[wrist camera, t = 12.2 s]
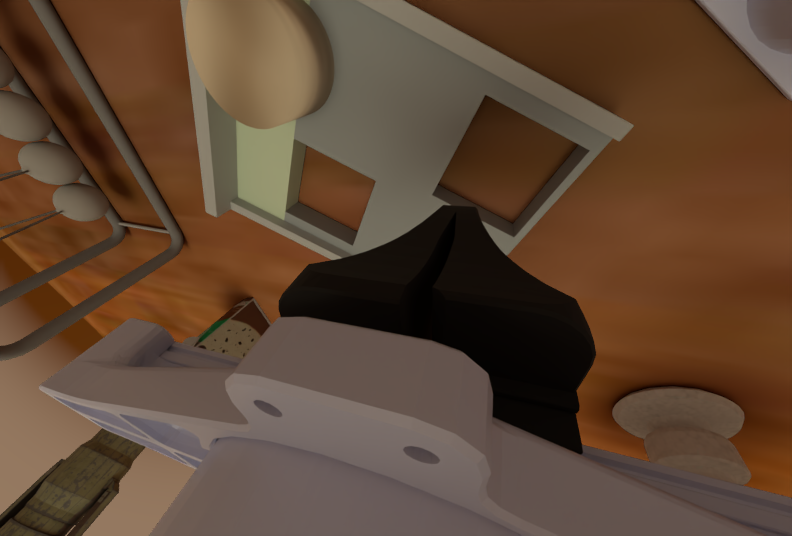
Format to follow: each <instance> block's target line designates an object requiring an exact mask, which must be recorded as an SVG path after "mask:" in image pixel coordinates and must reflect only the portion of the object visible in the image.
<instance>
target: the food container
mask: <svg viewBox="0 0 792 536" xmlns="http://www.w3.org/2000/svg"><path fill="white" fill-rule="evenodd" d="M271 325H272V324H271V322H270V321H269V319H268V318H267V316H266V315H265V313H264V312H263V311H262V309H261V308H260V306H259V305H258V303H257V302H256V300H255V299H254V298H246V299H244V300H242V301H241V302H240V303H238V304H237V305H236V306H235V307H233V308H232V309H231V310H230V311H229V312H227V313H226V314H225V315H224V316H222V317H221V318H220V319H219V320H218V321H216V322H215V323H214V324H213V325H211V326H210V327H209V328H208V329H207V330H205V331H204V332H203V333H202V334H200V335H199V336H198V337H189V338H187V339H185V340H184V342H183V344H186V345H190V346H194V347H198V348H202V349H206V350H210V351H214V352H218V353H222V354H226V355H230V356H234V357H238V358H242V359H243V358H244V357H245V356H246V355H247V353H248V352H249V351H250V350H251V348H252V347H253V346H254V345H255V344H256V342H257V341H258V340H259V339H260V337H261V336H262V335H263V334H264V333H265V331H266V330H267V329H268V328H269V327H270V326H271Z"/></svg>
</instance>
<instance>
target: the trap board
mask: <svg viewBox="0 0 792 536" xmlns="http://www.w3.org/2000/svg"><path fill="white" fill-rule="evenodd" d="M180 1H181V9H182V17H183V26H184V34H185V42H186V50H187V59H188V67H189V75H190V84H191V92H192V100H193V109H194V117H195V125H196V133H197V142H198V150H199V158H200V167H201V175H202V183H203V192H204V200H205V208H206V212H207V213H209V214H211V215H213V216H215V217H219V216H220V215H222V214H224V213H225V212H227V211H229V210H230V209H232V210H234V211H236V212H238V213H240V214H242V215H244V216H246V217H248V218H250V219H252V220H254V221H256V222H258V223H260V224H262V225H264V226H266V227H268V228H270V229H272V230H274V231H276V232H278V233H280V234H282V235H283V236H285V237H287V238H289V239H291V240H293V241H295V242H297V243H299V244H301V245H303V246H305V247H307V248H309V249H311V250H313V251H315V252H317V253H319V254H321V255H323V256H325V257H327V258H329V259H331V260H336V259H341V258H345V257H349V256H352V255H356V254H359V253H362V252H365V251H368V250H371V249H373V248H376V247H378V246H381V245H384V244H386V243H388V242H390V241H392V240H394V239H396V238H398V237H400V236H402V235H403V234H405V233H407V232H408V231H410V230H411V229H413V228H414V227H416V226H417V225H419V224H420V223H422V222H423V221H424V220H425V219H427V218H428V217H429V216H430V215H432V214H433V213H434V212H435V211H437V210H438V209H439V208H440V207H441V206H443V205H452V206H470V207H476V208H477V209H478V213H479V216H480V218H481V221H482V223H483V225H484V226H485V228H486V230H487V232H488V233H489V235H490V236H491V238H492V239H493V241H494V242H495V243H496V245H497V246H498V247H499V248H500V250H501V251H502V252H503V253H504V254H505V255H506V256H507V255H508V254H509V253H510V252H511V251H512V249H513V248H514V247H515V246H516V245H517V244H518V243H519V242H520V241H521V240H522V238H523V237H524V236H525V235H526V234H527V233H528V232H529V231H530V230H531V228H532V227H533V226H534V225H535V224H536V223H537V222H538V221H539V220H540V218H541V217H542V216H543V215H544V214H545V213H546V212H547V211H548V210H549V208H550V207H551V206H552V205H553V204H554V203H555V202H556V201H557V200H558V199H559V197H560V196H561V195H562V194H563V193H564V192H565V191H566V190H567V189H568V187H569V186H570V185H571V184H572V183H573V182H574V181H575V180H576V179H577V177H578V176H579V175H580V174H581V173H582V172H583V171H584V170H585V169H586V167H587V166H588V165H589V164H590V163H591V162H592V161H593V160H594V159H595V157H596V156H597V155H598V154H599V153H600V152H601V151H602V150H603V149H604V148H605V146H606V145H607V144H608V143H609V142H610V141H611V140H612V139H613V138H614V139H616V140H617V141H619V142H620V140H621V139H622V138H623V137H624V136H625V135H626V134H627V133H628V132H629V131H630V130H631V129H632V128H633V126H634V125H632V124H631V123H629V122H627V121H626V120H624V119H622V118H621V117H619V116H617V115H615V114H614V113H612V112H610V111H608V110H606V109H604V108H603V107H601V106H599V105H597V104H595V103H593V102H591V101H590V100H588V99H586V98H584V97H582V96H580V95H578V94H577V93H575V92H573V91H571V90H569V89H567V88H566V87H564V86H562V85H560V84H558V83H556V82H554V81H553V80H551V79H549V78H547V77H545V76H543V75H541V74H540V73H538V72H536V71H534V70H532V69H530V68H529V67H527V66H525V65H523V64H521V63H519V62H517V61H516V60H514V59H512V58H510V57H508V56H506V55H505V54H503V53H501V52H499V51H497V50H495V49H493V48H492V47H490V46H488V45H486V44H484V43H482V42H480V41H479V40H477V39H475V38H473V37H471V36H469V35H468V34H466V33H464V32H462V31H460V30H458V29H456V28H455V27H453V26H451V25H449V24H447V23H445V22H443V21H442V20H440V19H438V18H436V17H434V16H432V15H431V14H429V13H427V12H425V11H423V10H421V9H419V8H418V7H416V6H414V5H412V4H410V3H408V2H407V1H405V0H304V1H305V2H306V3H307V4H308V5H309V6H310V7H311V8H312V10H313V11H314V12H315V13H316V15H317V16H318V18H319V19H320V21H321V22H322V24H323V26H324V28H325V30H326V33H327V35H328V37H329V41H330V44H331V47H332V52H333V58H334V81H333V86H332V90H331V93H330V95H329V97H328V99H327V101H326V102H325V104H324V105H323V106H322V107H321V108H320V109H319V110H318V111H316V112H314V113H312V114H310V115H307V116H304V117H301V118H299V119H296V120H293V121H291V122H288V123H285V124H282V125H280V126H277V127H274V128H271V129H256V128H252V127H249V126H246V125H244V124H242V123H240V122H239V121H237V120H236V119H234V118H233V117H231V116H230V115H229V114H228V113H227V112H225V111H224V110H223V109H222V108H221V107H220V106H219V104H218V103H217V102H216V101H215V100H214V98H213V97H212V96H211V94H210V93H209V92H208V90H207V89H206V87H205V85H204V84H203V82H202V80H201V78H200V76H199V74H198V72H197V70H196V68H195V65H194V62H193V60H192V57H191V54H190V50H189V46H188V41H187V35H186V9H187V5H188V1H189V0H180ZM485 95H487V96H489V97H491V98H492V99H494V100H496V101H498V102H500V103H502V104H504V105H505V106H507V107H509V108H511V109H513V110H515V111H517V112H519V113H520V114H522V115H524V116H526V117H528V118H530V119H532V120H534V121H535V122H537V123H539V124H541V125H543V126H545V127H547V128H549V129H550V130H552V131H554V132H556V133H558V134H560V135H562V136H564V137H565V138H567V139H569V140H571V141H573V142H575V143H577V144H578V146H577V147H576V149H575V150H574V151H573V152H572V153H571V155H570V156H569V157H568V158H567V159H566V161H565V162H564V163H563V164H562V166H561V167H560V168H559V169H558V170H557V172H556V173H555V174H554V175H553V176H552V178H551V179H550V180H549V181H548V182H547V184H546V185H545V186H544V187H543V188H542V190H541V191H540V192H539V193H538V194H537V196H536V197H535V198H534V199H533V200H532V202H531V203H530V204H529V205H528V206H527V208H526V209H525V210H524V211H523V212H522V214H521V215H520V216H519V217H518V218H517V220H516V221H515V222H514V223H513V224H512V223H510V222H509V221H507V220H505V219H503V218H501V217H499V216H497V215H495V214H493V213H491V212H489V211H487V210H485V209H483V208H482V207H480V206H478V205H476V204H474V203H472V202H470V201H468V200H466V199H464V198H462V197H460V196H458V195H456V194H455V193H453V192H451V191H449V190H447V189H445V188H443V187H441V186H439V185H438V183H439V181H440V179H441V177H442V175H443V173H444V172H445V170H446V168H447V166H448V164H449V162H450V160H451V158H452V156H453V155H454V153H455V151H456V149H457V147H458V145H459V143H460V141H461V140H462V138H463V136H464V134H465V132H466V130H467V128H468V126H469V124H470V123H471V121H472V119H473V117H474V115H475V113H476V111H477V109H478V108H479V106H480V104H481V102H482V100H483V98H484V96H485ZM306 145H307V146H309V147H311V148H313V149H315V150H317V151H319V152H321V153H323V154H325V155H327V156H329V157H331V158H332V159H334V160H336V161H338V162H340V163H342V164H344V165H346V166H348V167H350V168H352V169H354V170H356V171H358V172H360V173H362V174H363V175H365V176H367V177H369V178H371V179H373V180H375V181H376V183H375V185H374V188H373V191H372V194H371V197H370V199H369V202H368V205H367V208H366V211H365V213H364V216H363V219H362V222H361V225H360V227H359V230H358V232H356V231H354V230H352V229H350V228H348V227H346V226H344V225H342V224H341V223H339V222H337V221H335V220H333V219H331V218H329V217H327V216H325V215H323V214H321V213H319V212H317V211H315V210H313V209H311V208H309V207H307V206H305V205H303V204H301V203H299V202H298V197H299V191H300V184H301V178H302V171H303V164H304V158H305V151H306Z"/></svg>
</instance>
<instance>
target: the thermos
mask: <svg viewBox="0 0 792 536" xmlns="http://www.w3.org/2000/svg"><path fill="white" fill-rule="evenodd" d="M144 448H145V446H143V445H140V444H138V443H136V442H133V441H131V440H129V439H126V438H124V437H122V436H119V435H117V434H114V433H112V432H110V431H107V430H105V429H103V428H102V429H101V430H100V431H99V432H98V433H97V434H96V435H95V436H94V437H93V438H92V439H91V440H89V441H88V442H86V443H84V444H82V445H81V446H80V447H79V448H77V449H76V450H75V451H74V452H73V453H72V454H71V455H70V456H69V457H68V458H67V459H66V460H63V459H61V460H60V461H59V462H57V463H56V464H55V465H54V466H53V467H52V468H50V469H49V470H48V471H47V472H46V473H45V474H44V475H43V476H42V477H40V478H39V480H37V481H36V482H35V483H34V484H33V485H32V486H31V487H30V488H29V489H28V490H27V491H26V492H25V493H23V494H22V496H20V497H19V498H18V499H17V500H16V501H15V502H14V503H13V504H12V505H11V506H10V507H9V508H8V509H6V511H4V512H3V513H2V514H1V515H0V536H65V535H66V534H67V533H68V532H69V530H70V529H71V528H72V527H73V526H74V525H76V526H75V527H74V528H73V529H72V530H71V532H70V533H69V534H68V535H67V536H82V535H83V533H84V532H85V531H86V530H87V529H88V528H89V526H90V525H91V524H92V523H93V522H94V521H95V519H96V518H97V517H98V515H100V513H101V512H102V511H103V510H104V509H105V507H106V506H107V505H108V504H109V503H110V502H111V501H112V499H113V498H114V497H115V496H116V495H117V494H118V493H119V481H120V480H121V479H122V478H123V476H124V475H125V474H126V473H127V472H128V471H129V469H130V468H131V465H132V463H133V461H134V460H135V459H136V458H137V456H138V455H139V454H140V453H141V452H142V451H143V449H144ZM78 522H79V523H78ZM77 523H78V524H77Z"/></svg>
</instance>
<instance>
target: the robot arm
mask: <svg viewBox="0 0 792 536" xmlns="http://www.w3.org/2000/svg"><path fill="white" fill-rule="evenodd" d="M695 1H696V2H697V3H698V4H699V5H700V6H701V8H702V9H703V10H704V11H705V12H706V13H707V14H708V15H709V16H710V17H711V18H712V19H713V20H714V21H715V22H716V23H717V25H718V26H719V27H720V28H721V29H722V30H723V31H724V32H725V33H726V34H727V35H728V36H729V37H730V38H731V39H732V40H733V42H734V43H735V44H736V45H737V46H738V47H739V48H740V49H741V50H742V51H743V52H744V53H745V54H746V55H747V56H748V57H749V59H750V60H751V61H752V62H753V63H754V64H755V65H756V66H757V67H758V68H759V69H760V70H761V71H762V72H763V73H764V74H765V76H766V77H767V78H768V79H769V80H770V81H771V82H772V83H773V84H774V85H775V86H776V87H777V88H778V89H779V90H780V91H781V93H782V94H783V95H784V96H785V97H786V98H787V99H789V100H791V101H792V0H695ZM279 312H280V315H281V317H279V318H278V319H277V320H276V321H275V322H274V323H273V324H272V325H271V326H270V327H269V328H268V329H267V330H266V331H265V333H264V334H263V335H262V336H261V337H260V339H259V340H258V341H257V342H256V344H255V345H254V346H253V347H252V348H251V350H250V351H249V352H248V353H247V355H246V356H245V357H244V358H243V359H242V358H238V357H234V356H230V355H226V354H222V353H218V352H214V351H210V350H206V349H202V348H198V347H194V346H190V345H186V344H183V343H179V342H175V341H174V338H173V337H172V336H171V334H170V333H169V332H168V331H167V330H166V329H165V328H163V327H162V326H160V325H158V324H155V323H152V322H148V321H143V320H139V319H135V318H130V319H128V320H127V321H126V322H124V323H123V324H122V325H120V326H119V327H118V328H116V329H115V330H114V331H112V332H111V333H110V334H108V335H107V336H105V337H104V338H103V339H101V340H100V341H99V342H97V343H96V344H95V345H93V346H92V347H91V348H89V349H88V350H87V351H85V352H84V353H83V354H81V355H80V356H78V357H77V358H76V359H75V360H73V361H72V362H71V363H69V364H68V365H66V366H65V367H64V368H62V369H61V370H60V371H58V372H57V373H56V374H54V375H53V376H51V377H50V378H49V379H47V380H46V381H45V382H43V383H42V384H41V385H40V386H39V390H41V391H43V392H44V393H46V394H48V395H50V396H51V397H53V398H54V399H56V400H57V401H59V402H61V403H62V404H64V405H66V406H67V407H69V408H71V409H72V410H74V411H76V412H77V413H79V414H80V415H82V416H84V417H85V418H87V419H89V420H90V421H92V422H94V423H95V424H97V425H98V426H100V427H102V428H103V429H105V430H107V431H110V432H112V433H114V434H117V435H119V436H122V437H124V438H126V439H129V440H131V441H133V442H136V443H138V444H140V445H143V446H145V447H147V448H150V449H152V450H154V451H156V452H158V453H161V454H163V455H165V456H167V457H170V458H172V459H174V460H176V461H178V462H180V463H183V464H185V465H187V466H189V467H191V468H193V469H196V471H195V472H194V473H193V475H192V476H191V478H190V479H189V480H188V482H187V483H186V485H185V486H184V487H183V489H182V490H181V491H180V493H179V494H178V496H177V497H176V498H175V500H174V501H173V503H172V504H171V505H170V507H169V508H168V510H167V511H166V512H165V514H164V515H163V517H162V518H161V520H160V521H159V522H158V523H157V525H156V526H155V528H154V529H153V530H152V532H151V533H150V535H149V536H792V498H790V497H786V496H782V495H778V494H774V493H771V492H767V491H763V490H759V489H755V488H751V487H747V486H743V485H739V484H735V483H731V482H727V481H723V480H719V479H715V478H711V477H707V476H703V475H700V474H696V473H692V472H688V471H684V470H680V469H676V468H672V467H668V466H664V465H660V464H656V463H652V462H648V461H644V460H640V459H636V458H632V457H628V456H625V455H621V454H617V453H613V452H609V451H605V450H601V449H597V448H593V447H589V446H585V445H582V443H581V438H580V433H579V428H578V423H577V418H576V414H575V413H577V412H578V411H579V406H580V405H579V401H578V396H577V392H576V390H577V389H578V387H579V386H580V384H581V382H582V381H583V379H584V378H585V376H586V374H587V373H588V371H589V370H590V368H591V366H592V365H593V362H594V359H595V356H596V351H595V345H594V340H593V337H592V334H591V331H590V328H589V326H588V323H587V321H586V319H585V317H584V315H583V313H582V311H581V309H580V307H579V305H578V303H577V301H576V299H574V298H572V297H570V296H568V295H566V294H564V293H562V292H560V291H558V290H556V289H554V288H552V287H550V286H548V285H546V284H545V283H543V282H541V281H540V280H538V279H537V278H535V277H533V276H532V275H530V274H529V273H527V272H526V271H525V270H523V269H522V268H520V267H519V266H518V265H517V264H515V263H514V262H513V261H512V260H511V259H510V258H508V257H507V256H506V255H505V254H504V253H503V252H502V251H501V250H500V248H499V247H498V246H497V245H496V243H495V242H494V241H493V239H492V238H491V236H490V235H489V233H488V232H487V230H486V228H485V226H484V225H483V223H482V221H481V218H480V216H479V213H478V209H477V208H476V207H470V206H452V205H443V206H441V207H440V208H439V209H438V210H437V211H435V212H434V213H433V214H432V215H430V216H429V217H428V218H427V219H425V220H424V221H423V222H422V223H420V224H419V225H417V226H416V227H414V228H413V229H411V230H410V231H408V232H407V233H405V234H403V235H402V236H400V237H398V238H396V239H394V240H392V241H390V242H388V243H386V244H384V245H381V246H378V247H376V248H373V249H371V250H368V251H365V252H362V253H359V254H356V255H352V256H349V257H345V258H341V259H336V260H331V261H325V262H320V263H314V264H309V265H308V266H307V267H306V268H305V269H304V270H303V271H302V272H301V273H300V275H299V276H298V277H297V278H296V279H295V280H294V281H293V283H292V284H291V285H290V286H289V287H288V288H287V289H286V291H285V292H284V293H283V294H282V296H281V298H280V300H279Z"/></svg>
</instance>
